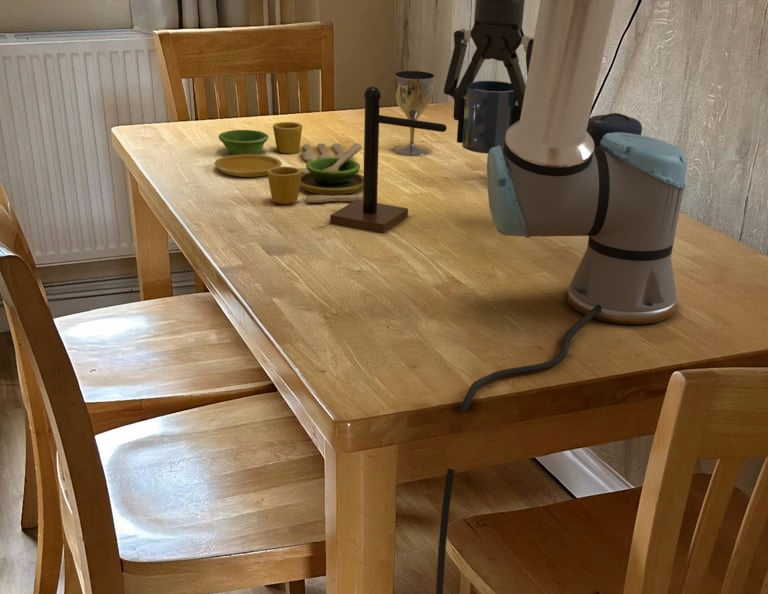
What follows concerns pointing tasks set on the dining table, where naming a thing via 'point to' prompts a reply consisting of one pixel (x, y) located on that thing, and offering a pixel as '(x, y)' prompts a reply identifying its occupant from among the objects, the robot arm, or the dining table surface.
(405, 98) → the wine glass
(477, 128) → the mug
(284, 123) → the tableware set
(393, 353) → the dining table surface
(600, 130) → the canister
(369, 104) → the cup holder
